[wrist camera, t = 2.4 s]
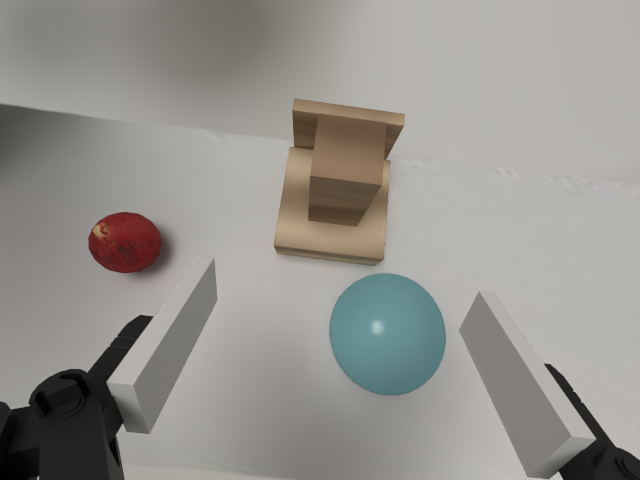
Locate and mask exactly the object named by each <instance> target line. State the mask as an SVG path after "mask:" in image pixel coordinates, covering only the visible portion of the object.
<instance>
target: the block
mask: <svg viewBox="0 0 640 480" xmlns="http://www.w3.org/2000/svg"><path fill="white" fill-rule="evenodd" d="M386 125H387V123H386V122H379V121H372V120H365V119H357V118H350V117H343V116H336V115H329V114H322V113H319V115H318V122H317V129H316V137H315V144H314V151H313V158H312V165H311V173H310V187H309V208H308V221H316V222H324V223H331V224H339V225H347V226H354V227H357V225H358V224H359V222H360V221H361V219H362V217H363V216H364V214H365V212H366V211H367V209H368V207H369V206H370V204H371V203H372V201H373V199H374V198H375V196H376V194H377V193H378V191H379V190H380V188H381V186H382V181H383V167H384V153H385V139H386Z"/></svg>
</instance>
